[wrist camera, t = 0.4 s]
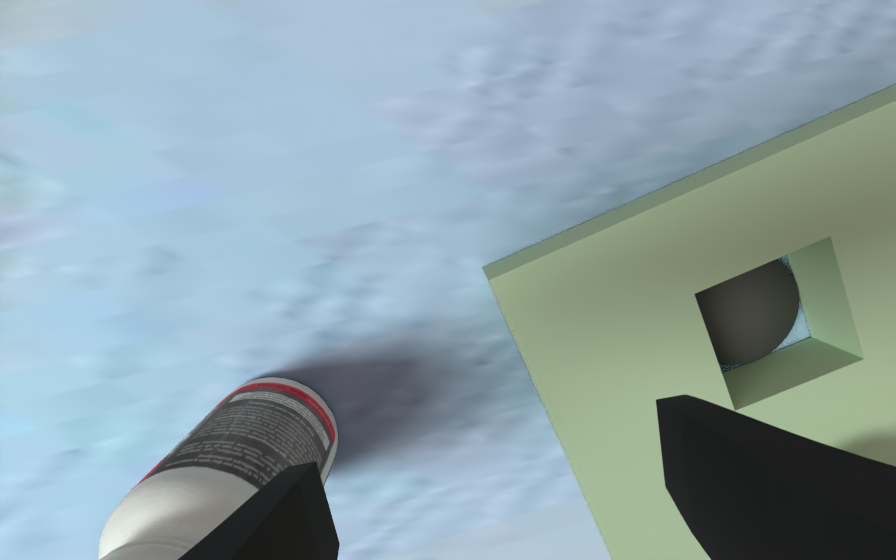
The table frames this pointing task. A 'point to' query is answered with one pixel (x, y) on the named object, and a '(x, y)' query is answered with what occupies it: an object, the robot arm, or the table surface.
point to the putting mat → (718, 314)
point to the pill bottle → (221, 468)
